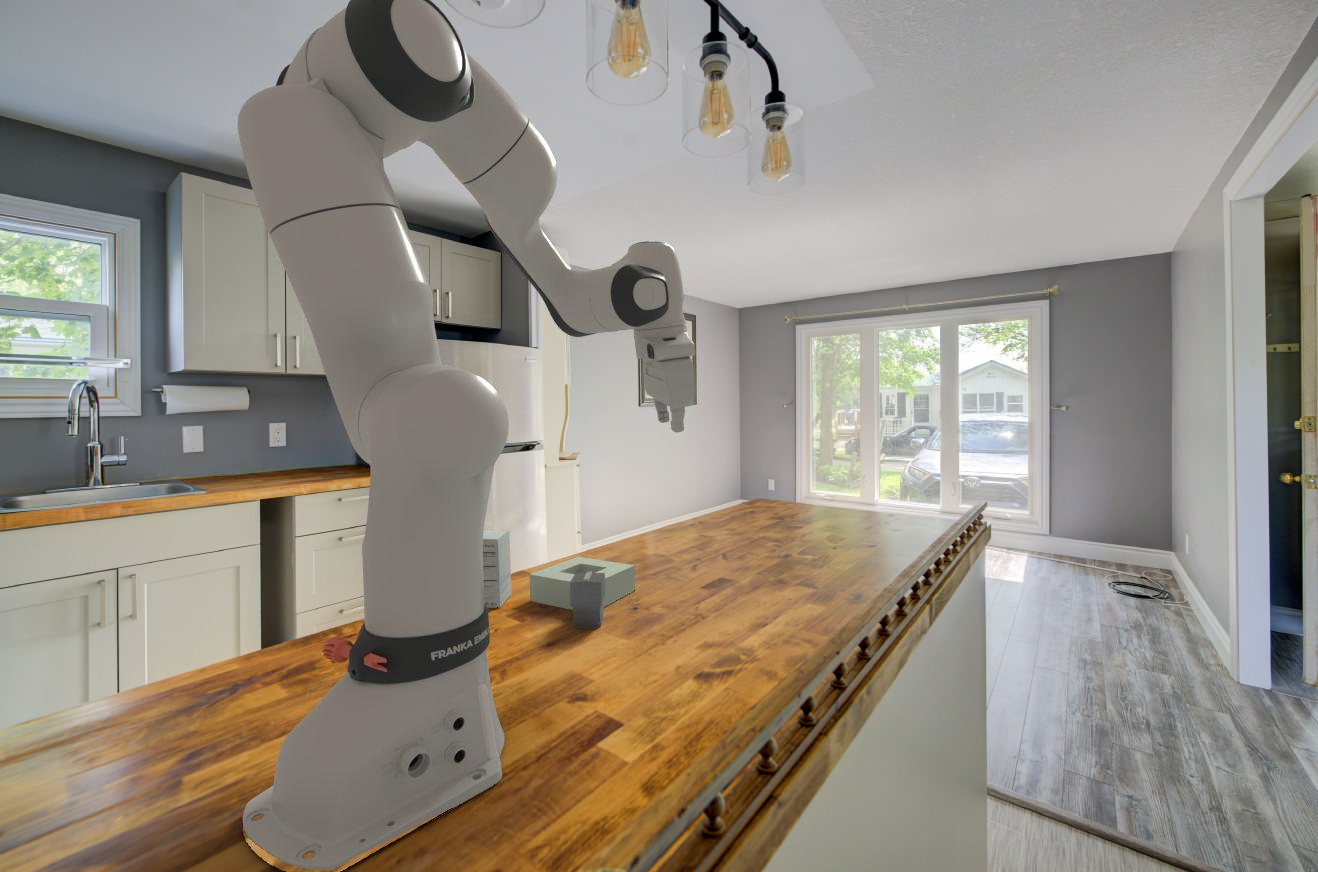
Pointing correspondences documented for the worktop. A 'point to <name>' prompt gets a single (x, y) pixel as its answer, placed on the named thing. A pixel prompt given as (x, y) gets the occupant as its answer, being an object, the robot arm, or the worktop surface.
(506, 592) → the supplement box
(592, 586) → the knob
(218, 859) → the worktop surface
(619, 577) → the block
